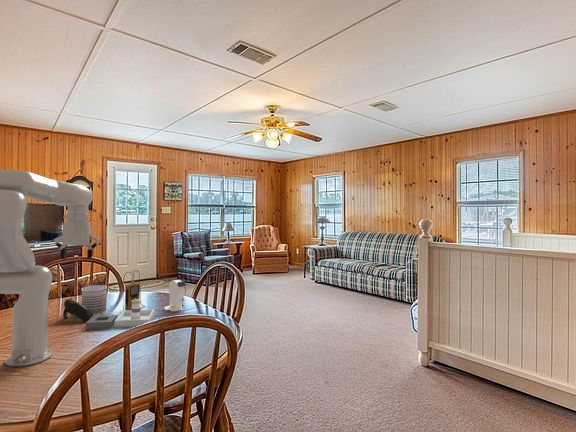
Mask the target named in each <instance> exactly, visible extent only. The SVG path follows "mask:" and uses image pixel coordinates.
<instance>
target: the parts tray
mask: <svg viewBox="0 0 576 432" xmlns="http://www.w3.org/2000/svg"><path fill="white" fill-rule="evenodd" d="M131 314H132V312H131V310H124V311H123V310H122V312H121V313H120V314H118V318H117V319H116V320H115V322H114V326H113V327H114V328H116V329H117V328H119V327H120V328H134V327H135V326H138V325H142V324H144V323H147V322H150V321H151V322H153V321H152V320H153V319H154V317H155V309H141V310H140V319H134V320H131ZM135 328H136V327H135Z"/></svg>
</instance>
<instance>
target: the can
mask: <svg viewBox="0 0 576 432" xmlns="http://www.w3.org/2000/svg"><path fill="white" fill-rule="evenodd" d="M107 289H108V287H107V285H102V284H93V285H87V286H85V287H81V305H83V306H84V307H86V308H87V309H88V310H90V311H91V312H92V313H93V315H94V313H95V314H99V313H103V312H105V311H106V310H107ZM106 312H107V311H106Z"/></svg>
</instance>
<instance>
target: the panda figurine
mask: <svg viewBox="0 0 576 432" xmlns="http://www.w3.org/2000/svg"><path fill="white" fill-rule="evenodd" d="M186 284H187V283H186V281H185V280H183V281H182V280H181V279H177V278H175V277H174V278H170V279H168V294H169V305H167V306H164V311H167V310H170V311H169V312H179V311H178V310H181V311H184V310H183V309H182V305H183V302H184V301H185V300H184V297H185V294H186V293H187V290H186ZM172 306H173V309H171V308H172ZM174 306H175V308H174Z"/></svg>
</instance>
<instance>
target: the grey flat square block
mask: <svg viewBox="0 0 576 432" xmlns="http://www.w3.org/2000/svg"><path fill="white" fill-rule="evenodd" d="M118 316H119V314H109V315H108V314H107V315H106V314H105V315H104V314H103V315H93V317H92V318H91V319H90V320H88V321H87V322H85V331H86V330H89V331H91V330H93V331H94V330H111V329H113V327H114V322H115V320H116V319H117V318H118Z"/></svg>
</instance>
